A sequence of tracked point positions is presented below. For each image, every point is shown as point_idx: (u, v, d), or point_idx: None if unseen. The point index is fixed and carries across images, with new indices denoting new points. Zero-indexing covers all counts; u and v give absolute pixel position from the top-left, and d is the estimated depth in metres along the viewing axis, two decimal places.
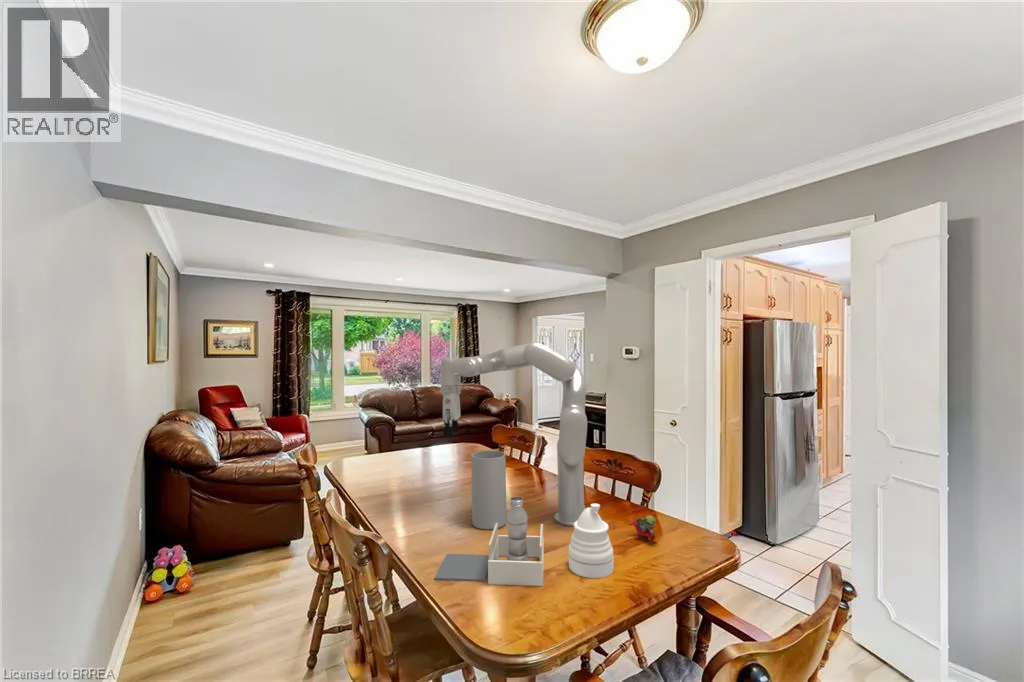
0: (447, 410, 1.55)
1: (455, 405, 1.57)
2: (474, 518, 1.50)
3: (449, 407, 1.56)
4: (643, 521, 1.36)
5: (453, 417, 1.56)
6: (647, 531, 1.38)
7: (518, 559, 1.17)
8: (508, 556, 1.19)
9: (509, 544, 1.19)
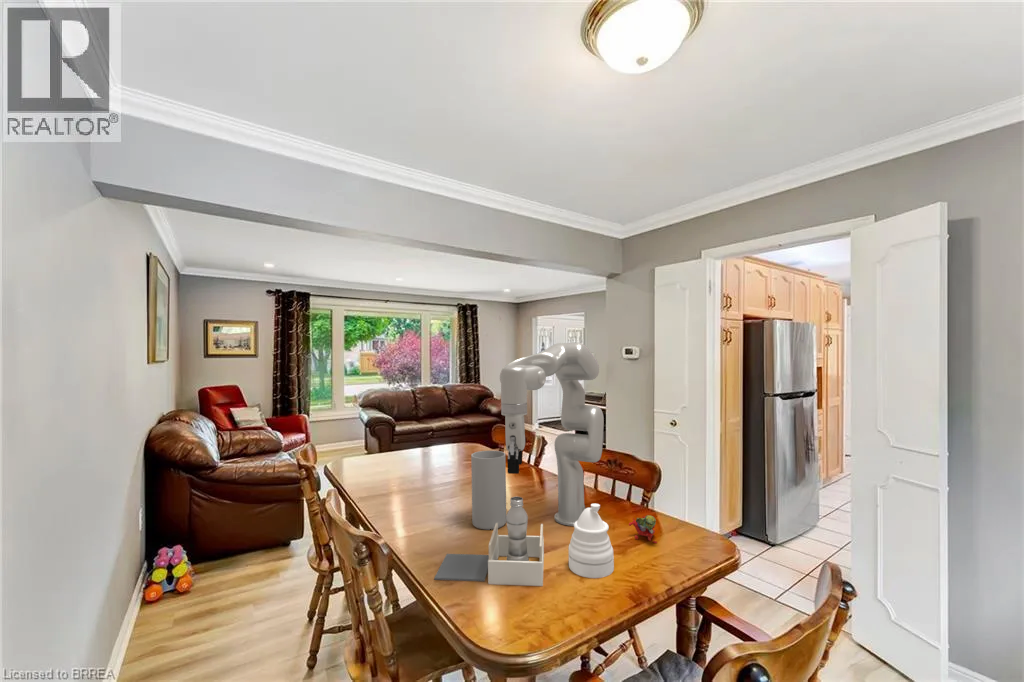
0: (512, 437, 1.16)
1: (522, 430, 1.18)
2: (474, 518, 1.50)
3: (515, 433, 1.17)
4: (643, 521, 1.36)
5: (520, 446, 1.16)
6: (647, 531, 1.38)
7: (518, 559, 1.17)
8: (508, 556, 1.19)
9: (509, 544, 1.19)
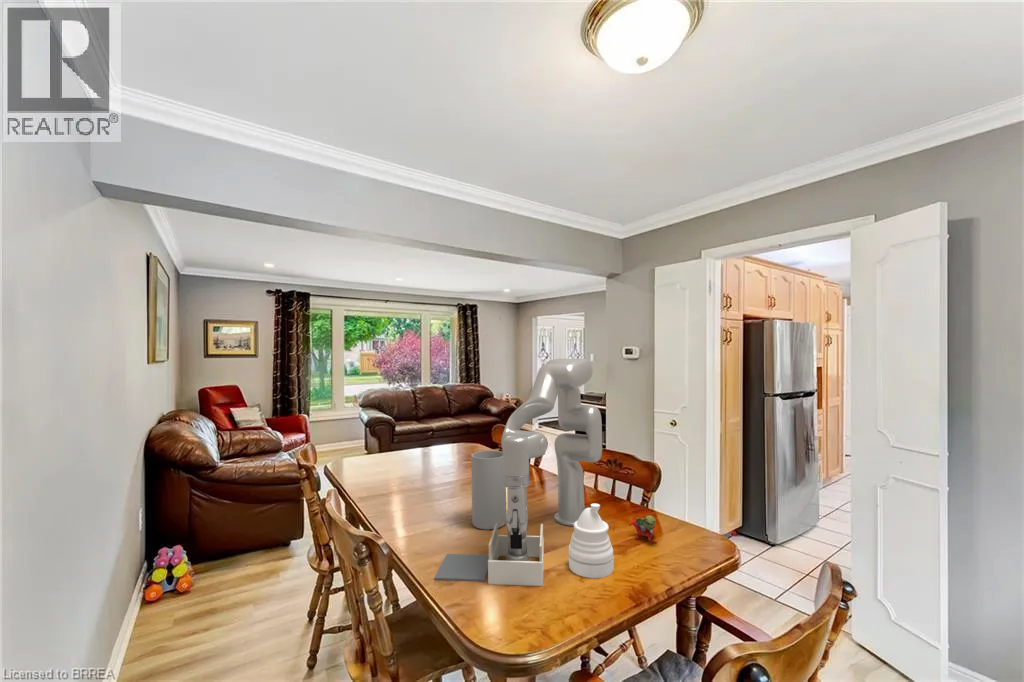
0: (515, 513, 1.15)
1: (524, 503, 1.17)
2: (474, 518, 1.50)
3: (517, 507, 1.16)
4: (643, 521, 1.36)
5: (523, 520, 1.15)
6: (647, 531, 1.38)
7: (518, 559, 1.17)
8: (508, 556, 1.19)
9: (509, 544, 1.19)
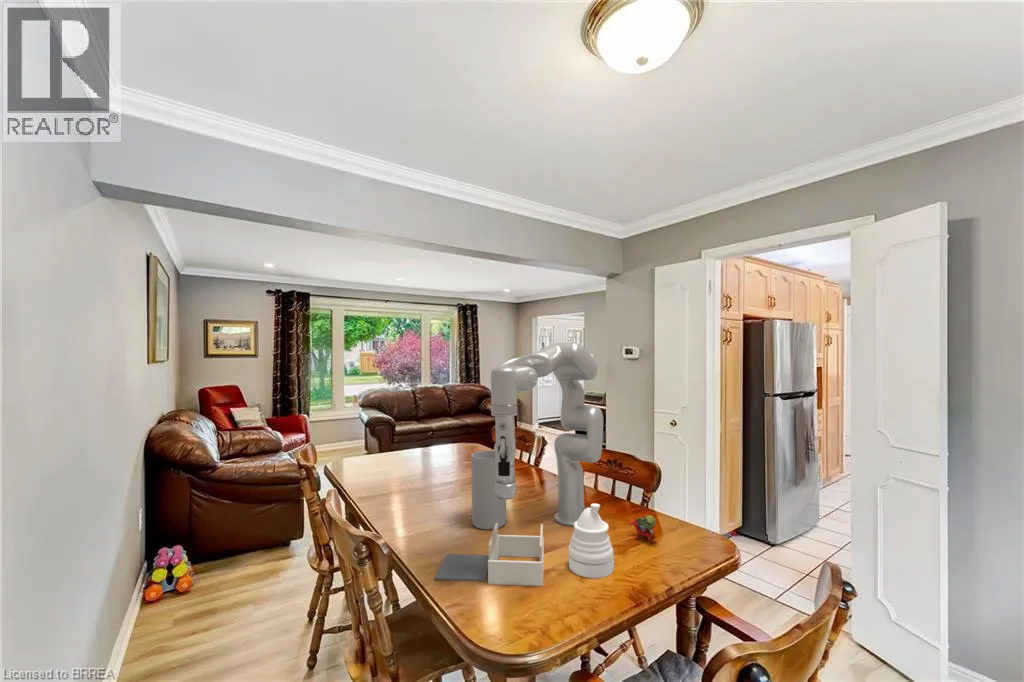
0: (502, 440, 1.16)
1: (512, 431, 1.18)
2: (474, 518, 1.50)
3: (505, 434, 1.17)
4: (643, 521, 1.36)
5: (510, 447, 1.16)
6: (647, 531, 1.38)
7: (506, 487, 1.18)
8: (496, 485, 1.20)
9: (497, 473, 1.20)
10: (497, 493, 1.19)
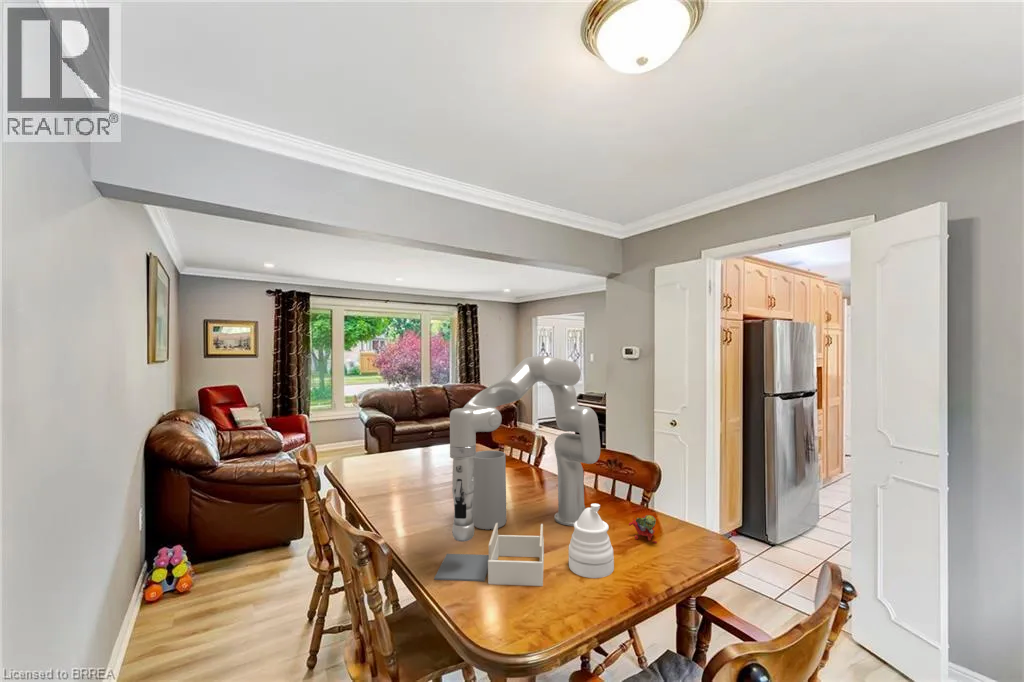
0: (459, 483, 1.17)
1: (469, 473, 1.19)
2: (474, 518, 1.50)
3: (461, 477, 1.17)
4: (643, 521, 1.36)
5: (466, 490, 1.17)
6: (647, 531, 1.38)
7: (462, 529, 1.19)
8: (453, 526, 1.20)
9: (454, 514, 1.21)
10: (454, 535, 1.20)
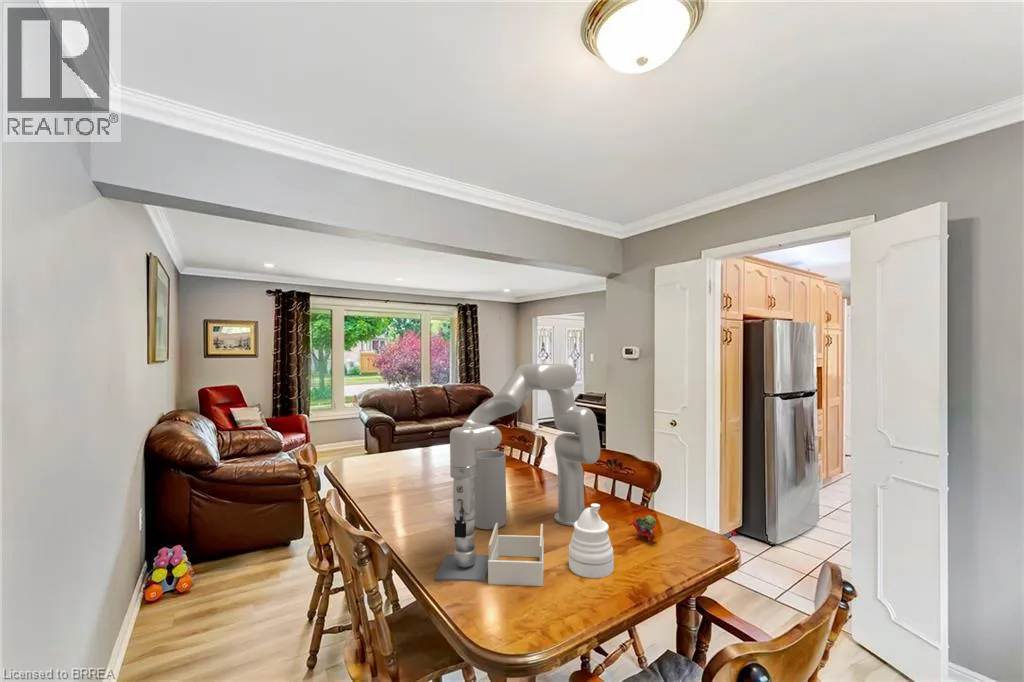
0: (459, 501, 1.17)
1: (469, 493, 1.18)
2: None
3: (462, 497, 1.17)
4: (643, 521, 1.36)
5: (467, 510, 1.17)
6: (647, 531, 1.38)
7: (464, 555, 1.19)
8: (455, 552, 1.21)
9: (456, 540, 1.21)
10: (456, 561, 1.20)
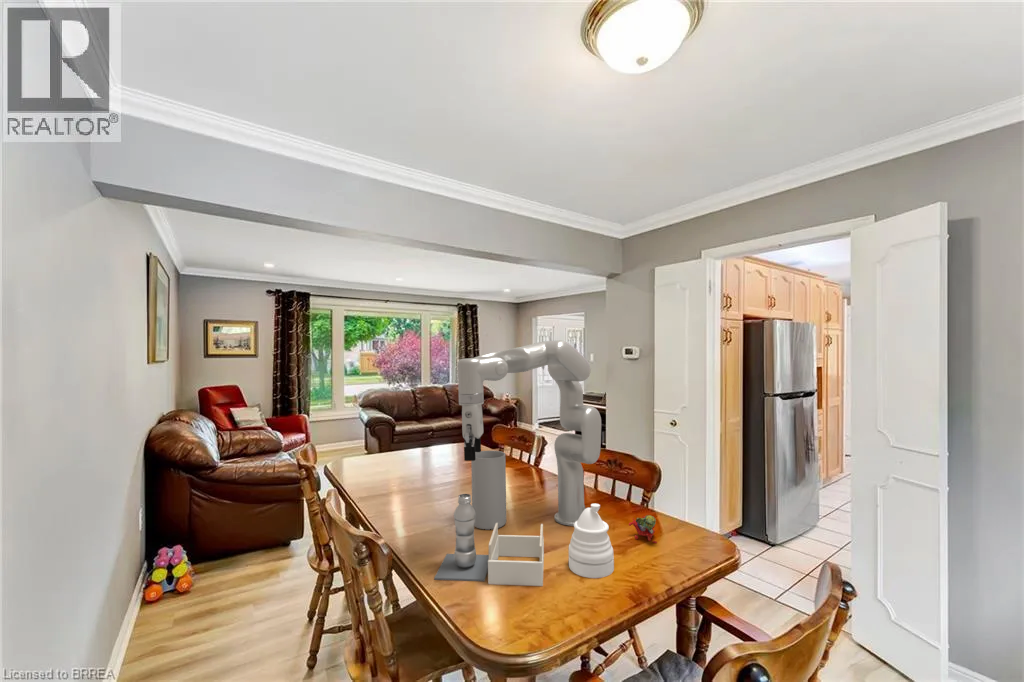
0: (468, 426, 1.21)
1: (478, 419, 1.23)
2: None
3: (470, 422, 1.21)
4: (643, 521, 1.36)
5: (476, 435, 1.21)
6: (647, 531, 1.38)
7: (464, 555, 1.19)
8: (455, 552, 1.21)
9: (456, 540, 1.21)
10: (456, 561, 1.20)
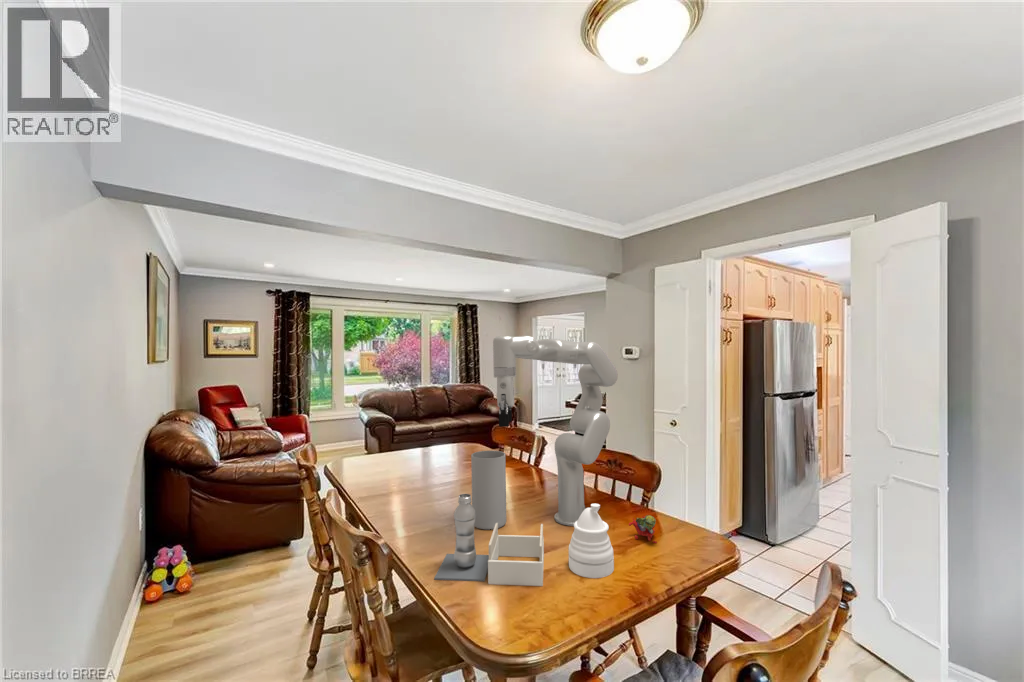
0: (503, 395, 1.36)
1: (511, 390, 1.37)
2: None
3: (505, 392, 1.36)
4: (643, 521, 1.36)
5: (509, 403, 1.36)
6: (647, 531, 1.38)
7: (464, 555, 1.19)
8: (455, 552, 1.21)
9: (456, 540, 1.21)
10: (456, 561, 1.20)
